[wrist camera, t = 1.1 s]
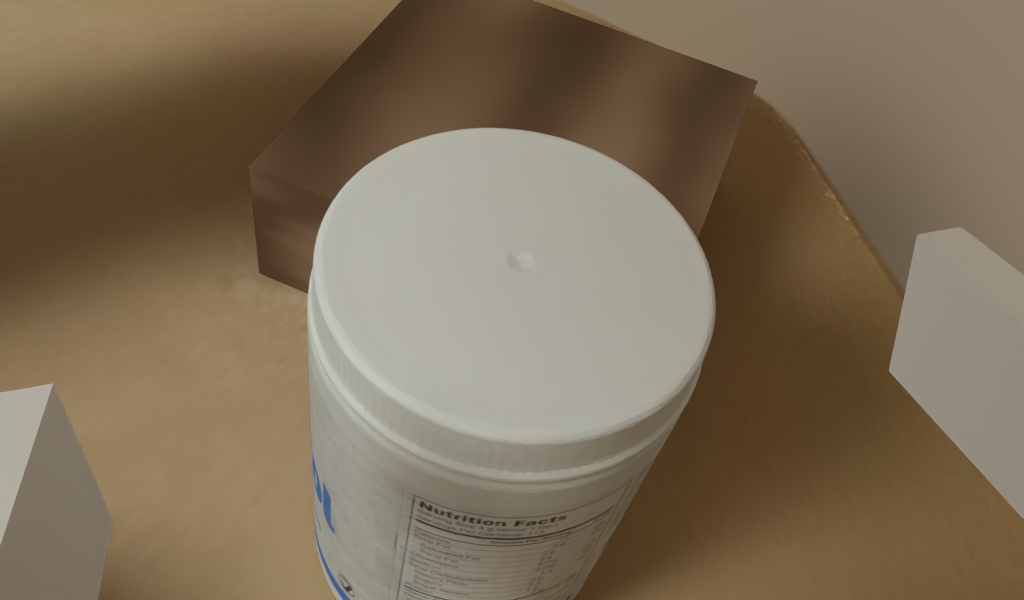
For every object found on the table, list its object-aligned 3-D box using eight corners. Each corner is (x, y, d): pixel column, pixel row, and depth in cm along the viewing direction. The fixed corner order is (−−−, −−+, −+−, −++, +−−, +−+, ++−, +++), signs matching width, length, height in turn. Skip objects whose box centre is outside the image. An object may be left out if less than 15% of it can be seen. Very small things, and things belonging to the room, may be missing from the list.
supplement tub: (308, 426, 34) (294, 115, 23) (556, 406, 36) (656, 112, 25) (324, 700, 28) (315, 464, 17) (619, 656, 30) (786, 421, 19)
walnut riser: (259, 272, 38) (248, 165, 33) (425, 69, 48) (434, -35, 43) (621, 424, 36) (663, 332, 31) (715, 178, 46) (757, 81, 41)
